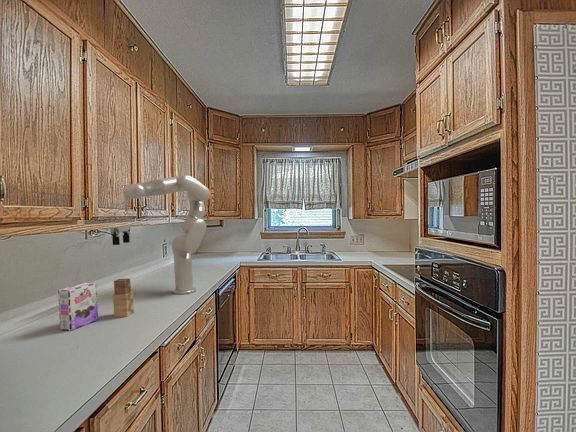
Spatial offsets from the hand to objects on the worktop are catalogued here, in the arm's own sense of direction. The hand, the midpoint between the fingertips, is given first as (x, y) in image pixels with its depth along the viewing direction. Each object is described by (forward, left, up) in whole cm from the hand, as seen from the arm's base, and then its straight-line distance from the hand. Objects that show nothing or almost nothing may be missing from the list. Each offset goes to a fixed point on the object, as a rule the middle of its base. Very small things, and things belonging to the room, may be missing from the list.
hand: (121, 243), depth 183 cm
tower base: (+18, +9, -30) cm, 36 cm away
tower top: (+18, +9, -25) cm, 32 cm away
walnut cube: (+18, +9, -20) cm, 29 cm away
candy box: (+31, -3, -31) cm, 44 cm away
